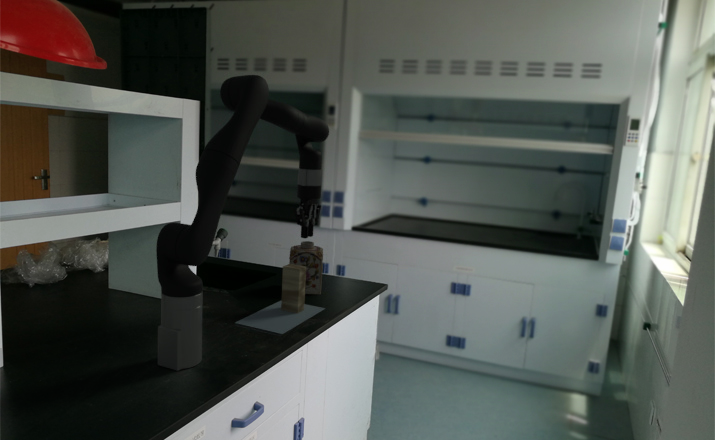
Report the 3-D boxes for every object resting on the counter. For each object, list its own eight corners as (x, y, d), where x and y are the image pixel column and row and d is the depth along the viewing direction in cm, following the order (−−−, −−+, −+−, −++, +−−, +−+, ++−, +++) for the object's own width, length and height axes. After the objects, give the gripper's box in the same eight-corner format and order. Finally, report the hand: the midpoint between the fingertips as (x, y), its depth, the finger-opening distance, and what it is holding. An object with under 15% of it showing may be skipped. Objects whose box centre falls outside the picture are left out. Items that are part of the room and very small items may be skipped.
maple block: (297, 313, 160) (299, 269, 158) (281, 309, 163) (282, 266, 161) (304, 309, 164) (306, 266, 162) (287, 306, 166) (289, 263, 164)
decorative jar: (321, 287, 193) (323, 239, 190) (321, 296, 181) (324, 246, 179) (288, 286, 192) (290, 238, 189) (287, 295, 180) (289, 244, 178)
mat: (282, 336, 143) (282, 334, 143) (234, 325, 149) (234, 322, 149) (325, 310, 167) (325, 308, 167) (282, 301, 173) (282, 299, 173)
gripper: (309, 181, 171) (307, 232, 174) (287, 183, 159) (285, 238, 161) (330, 183, 169) (327, 235, 171) (309, 185, 156) (306, 242, 158)
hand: (306, 236), depth 166 cm, fingers open, 3 cm apart
